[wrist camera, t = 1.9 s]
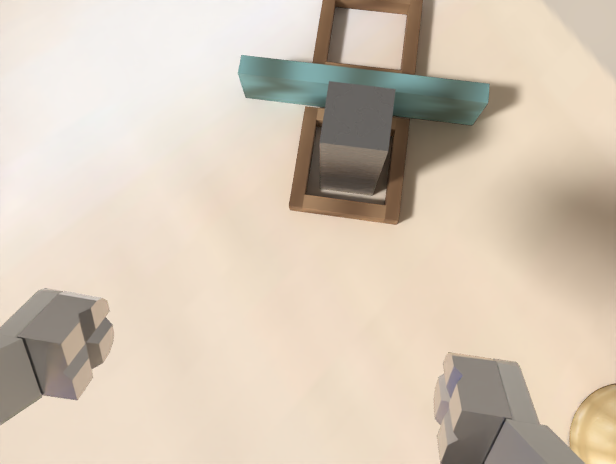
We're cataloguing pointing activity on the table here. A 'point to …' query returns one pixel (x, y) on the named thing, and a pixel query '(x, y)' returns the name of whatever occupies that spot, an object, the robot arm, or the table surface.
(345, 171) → the gray block
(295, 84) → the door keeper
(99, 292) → the table surface
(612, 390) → the hand bell
